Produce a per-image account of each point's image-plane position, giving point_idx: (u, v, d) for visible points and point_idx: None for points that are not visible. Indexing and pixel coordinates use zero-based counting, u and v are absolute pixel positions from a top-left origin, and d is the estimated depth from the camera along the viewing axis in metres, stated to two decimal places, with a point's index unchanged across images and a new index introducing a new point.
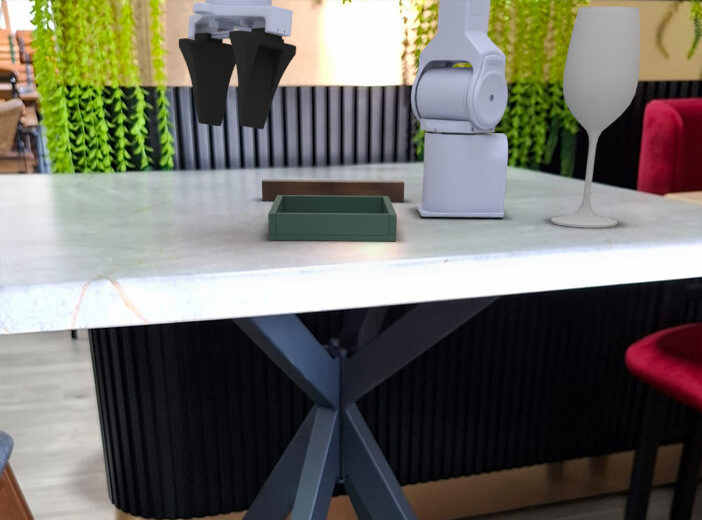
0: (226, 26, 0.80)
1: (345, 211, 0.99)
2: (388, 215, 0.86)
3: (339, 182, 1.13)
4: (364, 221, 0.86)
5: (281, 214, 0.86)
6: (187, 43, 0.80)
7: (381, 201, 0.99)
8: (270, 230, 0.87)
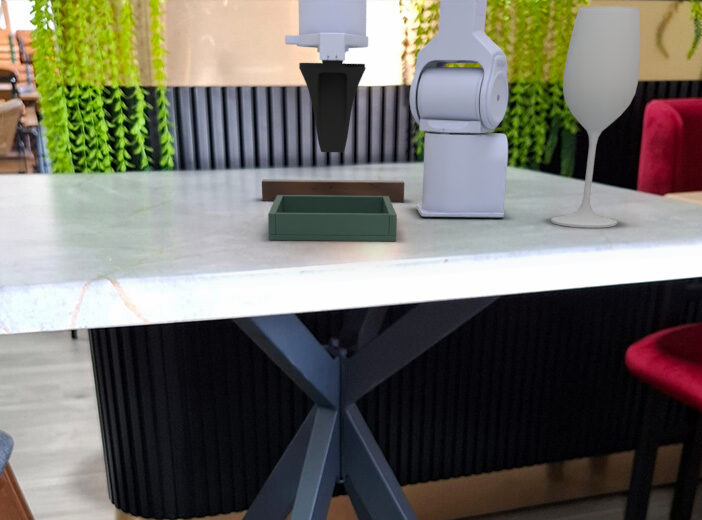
0: None
1: (345, 211, 0.99)
2: (388, 215, 0.86)
3: (339, 182, 1.13)
4: (364, 221, 0.86)
5: (281, 214, 0.86)
6: None
7: (381, 201, 0.99)
8: (270, 230, 0.87)
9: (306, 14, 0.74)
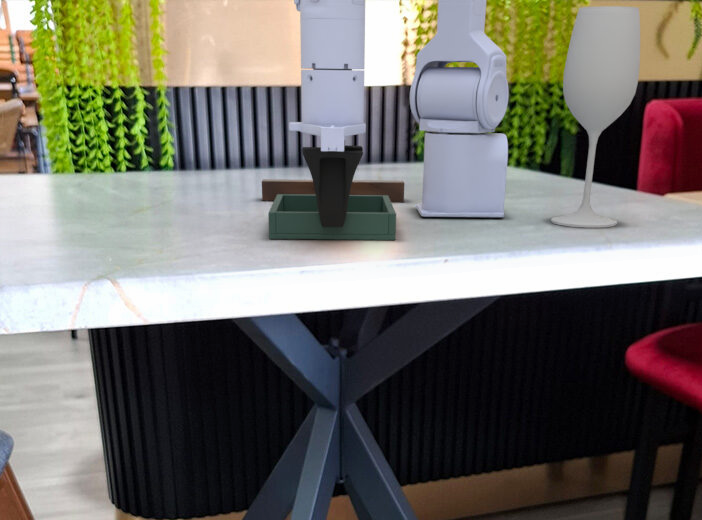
0: None
1: None
2: (388, 214, 0.87)
3: None
4: (364, 220, 0.87)
5: (281, 213, 0.87)
6: None
7: (381, 200, 0.99)
8: (270, 229, 0.87)
9: (309, 105, 0.80)
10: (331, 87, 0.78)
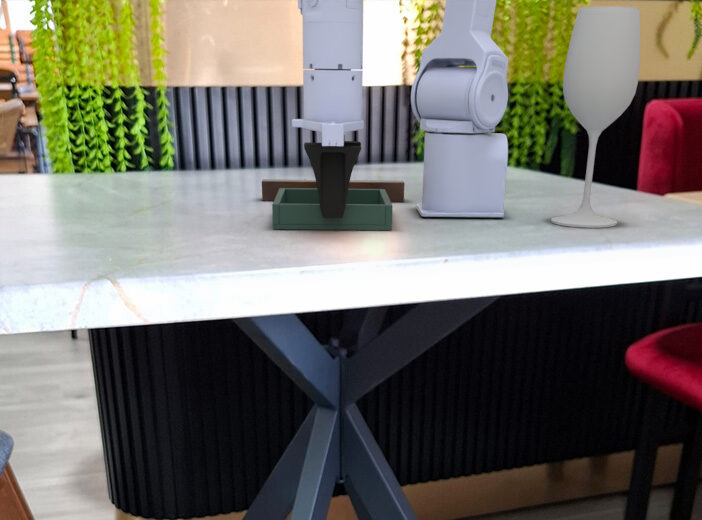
0: None
1: None
2: (384, 206, 0.92)
3: None
4: (362, 211, 0.92)
5: (284, 205, 0.92)
6: None
7: (378, 194, 1.05)
8: (274, 220, 0.93)
9: (310, 103, 0.85)
10: (331, 86, 0.84)
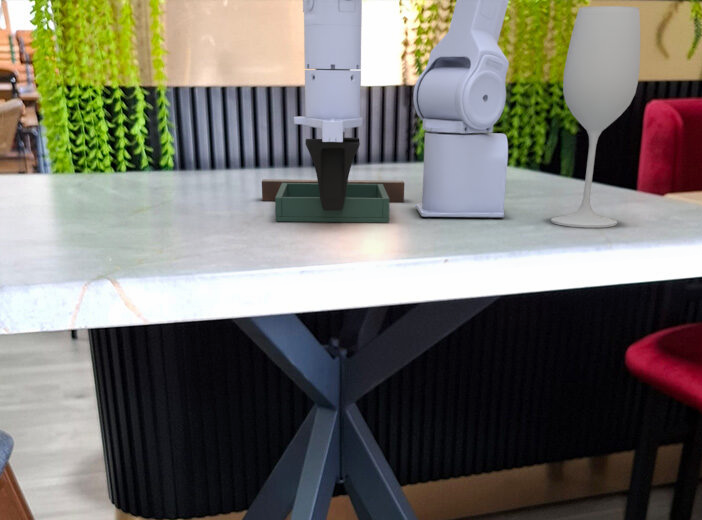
0: None
1: None
2: (382, 199, 0.97)
3: None
4: (360, 204, 0.97)
5: (286, 198, 0.97)
6: None
7: (376, 188, 1.10)
8: (277, 212, 0.97)
9: (311, 101, 0.90)
10: (331, 85, 0.89)
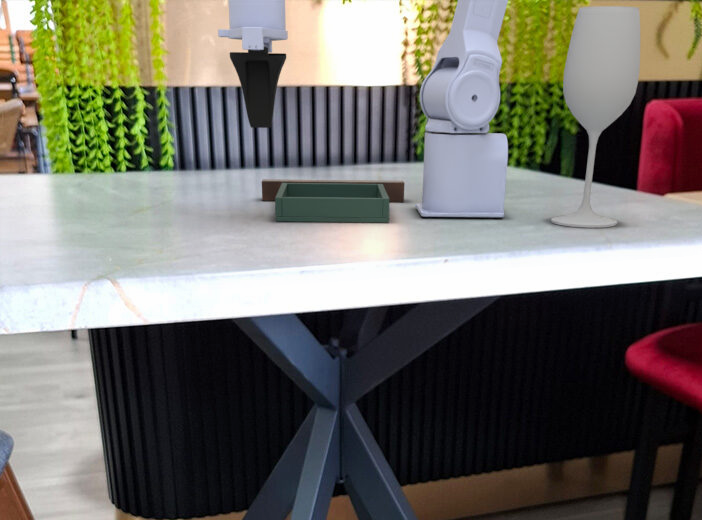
0: None
1: (343, 197, 1.10)
2: (382, 199, 0.97)
3: (339, 182, 1.13)
4: (360, 204, 0.97)
5: (286, 198, 0.97)
6: None
7: (376, 188, 1.10)
8: (277, 212, 0.97)
9: (234, 12, 0.89)
10: None
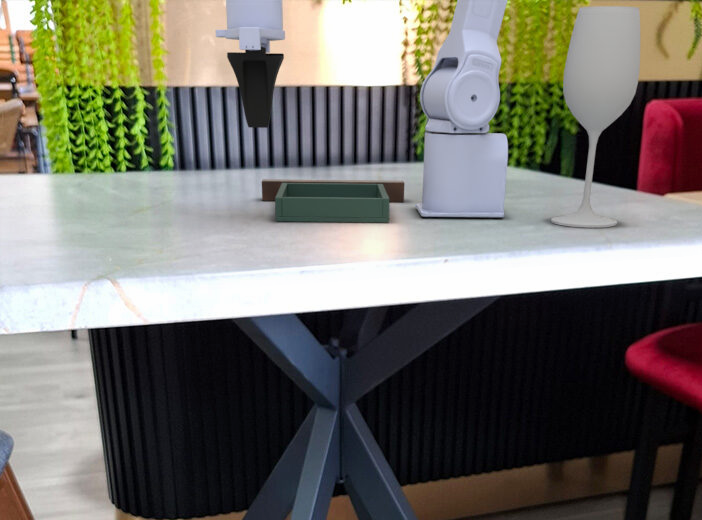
0: None
1: (343, 197, 1.10)
2: (382, 199, 0.97)
3: (339, 182, 1.13)
4: (360, 204, 0.97)
5: (286, 198, 0.97)
6: None
7: (376, 188, 1.10)
8: (277, 212, 0.97)
9: (232, 12, 0.89)
10: None
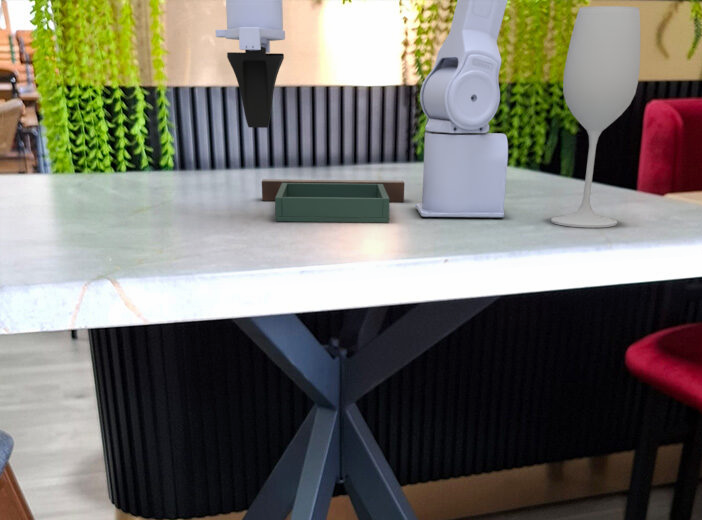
0: None
1: (343, 197, 1.10)
2: (382, 199, 0.97)
3: (339, 182, 1.13)
4: (360, 204, 0.97)
5: (286, 198, 0.97)
6: None
7: (376, 188, 1.10)
8: (277, 212, 0.97)
9: (232, 12, 0.89)
10: None
